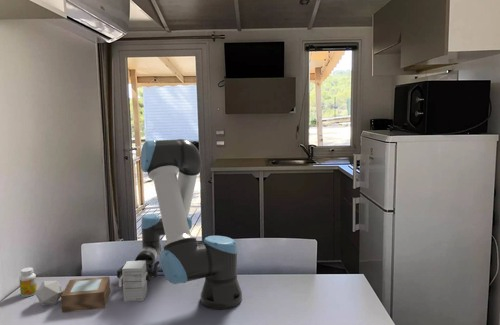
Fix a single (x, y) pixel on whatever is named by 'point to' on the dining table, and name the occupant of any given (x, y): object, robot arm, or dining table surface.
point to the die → (49, 292)
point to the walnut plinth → (85, 294)
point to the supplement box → (134, 280)
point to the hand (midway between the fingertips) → (131, 283)
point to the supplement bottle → (27, 282)
